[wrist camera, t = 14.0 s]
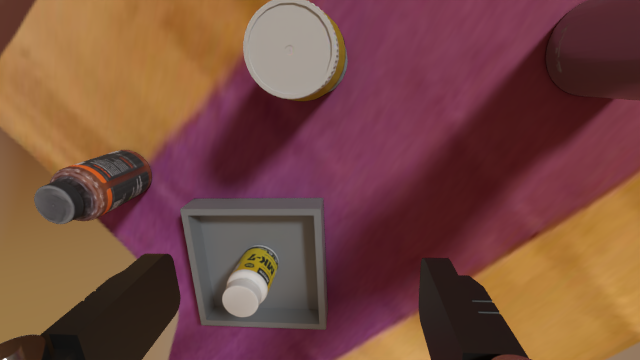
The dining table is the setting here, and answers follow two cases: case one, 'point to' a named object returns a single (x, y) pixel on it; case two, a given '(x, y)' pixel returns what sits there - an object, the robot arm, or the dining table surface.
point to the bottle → (294, 50)
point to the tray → (268, 230)
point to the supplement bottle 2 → (250, 281)
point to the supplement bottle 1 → (93, 187)
